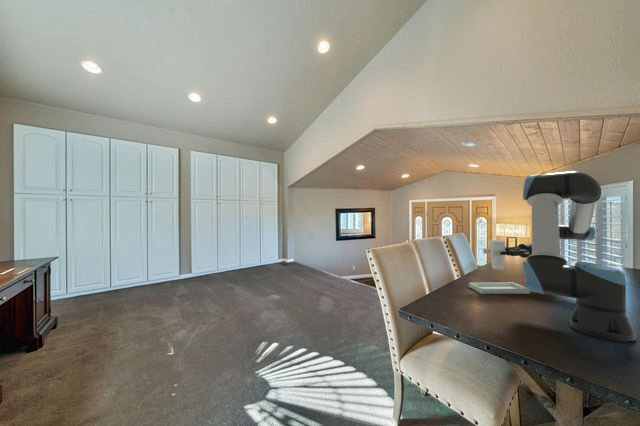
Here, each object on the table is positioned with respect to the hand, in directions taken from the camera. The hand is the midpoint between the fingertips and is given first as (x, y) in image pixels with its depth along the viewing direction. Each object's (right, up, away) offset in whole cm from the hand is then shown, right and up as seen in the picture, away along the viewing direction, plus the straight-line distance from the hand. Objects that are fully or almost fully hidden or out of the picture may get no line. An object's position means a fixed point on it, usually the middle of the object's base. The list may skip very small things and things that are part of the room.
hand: (488, 252), depth 134 cm
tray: (+5, -21, 0) cm, 21 cm away
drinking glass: (+5, -9, 0) cm, 10 cm away
